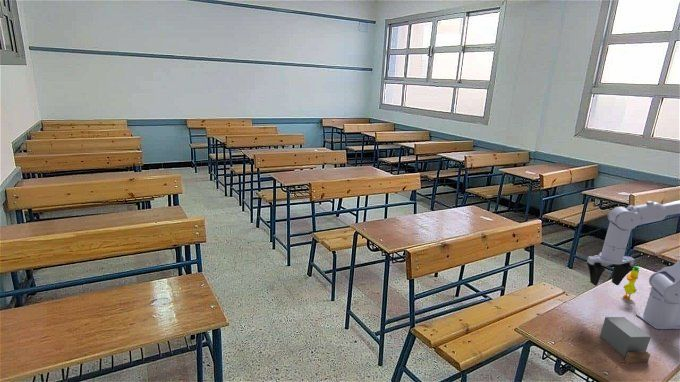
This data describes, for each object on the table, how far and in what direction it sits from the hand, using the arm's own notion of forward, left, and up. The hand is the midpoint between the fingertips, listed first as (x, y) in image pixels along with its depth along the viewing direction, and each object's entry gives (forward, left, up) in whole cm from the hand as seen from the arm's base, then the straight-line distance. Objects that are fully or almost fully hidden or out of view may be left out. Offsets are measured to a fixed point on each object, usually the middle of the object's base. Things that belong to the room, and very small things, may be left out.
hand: (604, 283), depth 123 cm
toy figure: (-18, -8, -10) cm, 22 cm away
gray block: (+6, +17, -10) cm, 21 cm away
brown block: (+7, +23, -10) cm, 26 cm away
